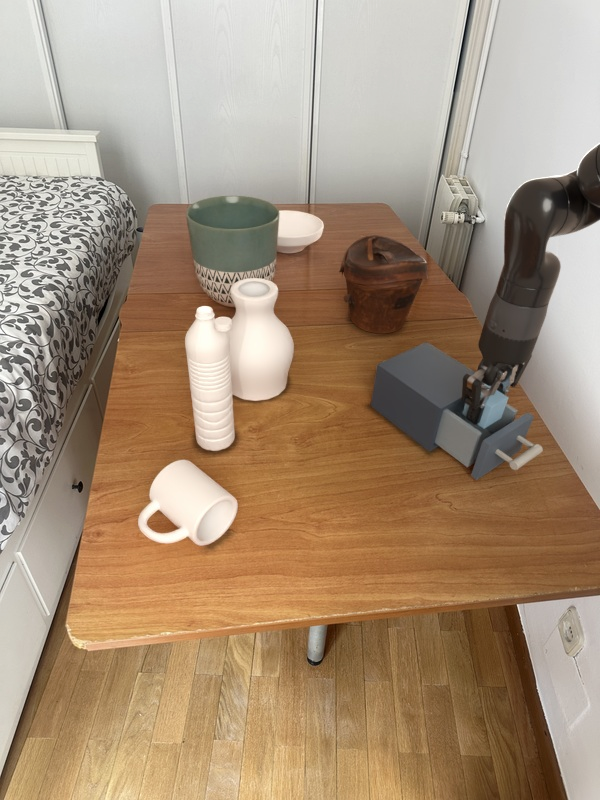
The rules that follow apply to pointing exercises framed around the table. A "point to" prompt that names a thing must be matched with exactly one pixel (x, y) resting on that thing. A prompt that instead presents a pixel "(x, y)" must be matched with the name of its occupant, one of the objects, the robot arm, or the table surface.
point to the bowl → (297, 230)
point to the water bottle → (210, 379)
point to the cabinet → (418, 391)
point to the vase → (258, 342)
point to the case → (381, 282)
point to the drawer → (486, 440)
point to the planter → (232, 242)
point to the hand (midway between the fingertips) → (482, 414)
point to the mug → (188, 505)
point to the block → (491, 408)
